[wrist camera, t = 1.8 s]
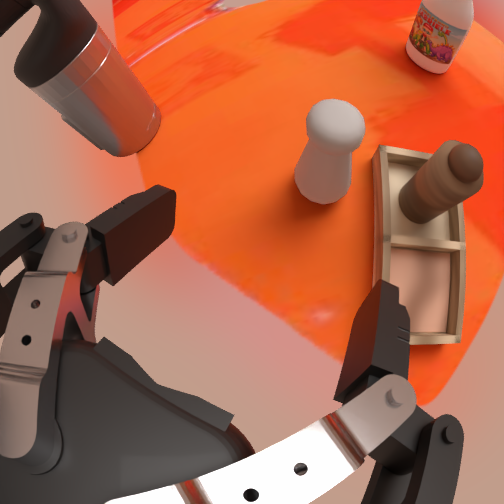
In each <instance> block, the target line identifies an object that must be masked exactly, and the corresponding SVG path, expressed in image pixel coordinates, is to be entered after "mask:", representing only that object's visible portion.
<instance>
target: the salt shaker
mask: <svg viewBox="0 0 504 504" xmlns="http://www.w3.org/2000/svg"><path fill="white" fill-rule="evenodd" d="M306 127H307V135H308V137H309V141H308V143H307V145H306V147H305V149H304V151H303V153H302V155H301V157H300V159H299V161H298V163H297V165H296V167H295V169H294V170H295V182H296V185H297V187H298V189H299V191H300V193H301V194H302V195H303V196H305V197H306V198H307V199H309V200H310V201H312V202H316V203H320V204H328V203H333V202H336V201H338V200H339V199H340V198H342V197H343V196H344V195H346V193H347V191H348V189H349V187H350V184H351V167H352V152H353V151H354V150H355V149H357V148H358V147H359V146H360V144H361V142H362V139H363V137H364V135H365V123H364V118H363V116H362V115H361V113H360V112H359V111H358V109H357V108H355V107H354V106H352V105H351V104H349V103H348V102H346V101H342V100H337V99H328V100H322V101H320V102H318V103H317V104H315V105H313V107H312V108H311V110H310V112H309V113H308V115H307V118H306Z"/></svg>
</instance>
